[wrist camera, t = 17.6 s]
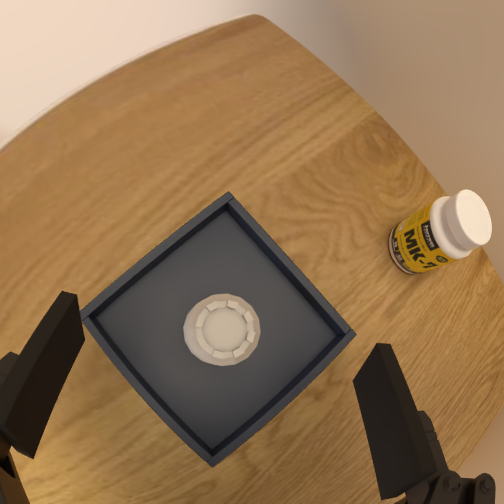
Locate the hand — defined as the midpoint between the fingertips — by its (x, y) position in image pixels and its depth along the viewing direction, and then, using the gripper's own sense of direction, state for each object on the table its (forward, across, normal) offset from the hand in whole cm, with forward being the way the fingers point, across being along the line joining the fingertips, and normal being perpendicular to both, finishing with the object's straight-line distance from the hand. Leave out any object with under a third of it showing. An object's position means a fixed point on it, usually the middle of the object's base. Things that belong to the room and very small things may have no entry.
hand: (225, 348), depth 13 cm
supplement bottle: (+13, +15, +1) cm, 20 cm away
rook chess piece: (+6, 0, -5) cm, 8 cm away
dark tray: (+7, 0, -5) cm, 9 cm away
